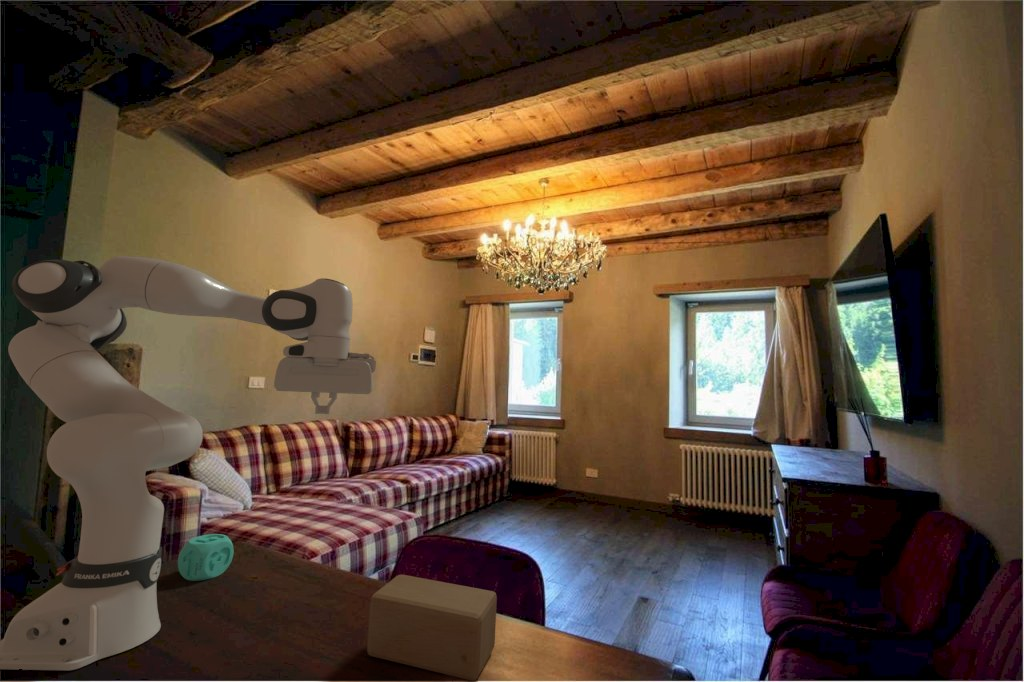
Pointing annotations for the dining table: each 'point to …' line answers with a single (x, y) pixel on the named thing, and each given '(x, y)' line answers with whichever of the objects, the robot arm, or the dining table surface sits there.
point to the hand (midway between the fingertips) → (322, 413)
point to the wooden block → (433, 625)
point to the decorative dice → (205, 557)
